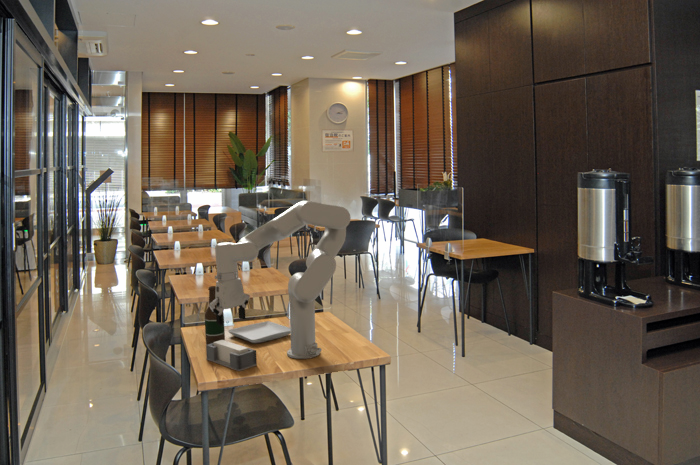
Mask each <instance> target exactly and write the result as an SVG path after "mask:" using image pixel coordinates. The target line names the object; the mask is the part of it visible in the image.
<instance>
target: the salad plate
mask: <svg viewBox="0 0 700 465" xmlns="http://www.w3.org/2000/svg"><path fill="white" fill-rule="evenodd" d="M227 332H228V333H229V334H230V335H232V336H234V337H237V338H239V339H242V340H244V341H247V342H250V343H251V344H261V343H265V342H269V341H273V340H276V339H279V338H283V337H285V336H288V335H290V327H289V326H285V325H282V324H279V323H276V322H273V321H269V320H267V321H262V322H261V321H260V322H257V323H252V324H248V325H242V326H239V327H236V328H235V327H234V328H230V329H228V330H227Z"/></svg>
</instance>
